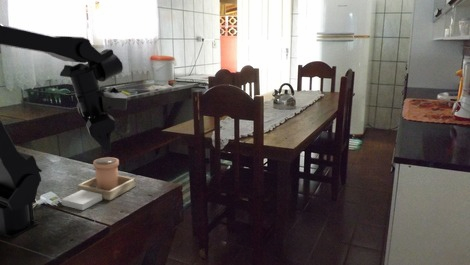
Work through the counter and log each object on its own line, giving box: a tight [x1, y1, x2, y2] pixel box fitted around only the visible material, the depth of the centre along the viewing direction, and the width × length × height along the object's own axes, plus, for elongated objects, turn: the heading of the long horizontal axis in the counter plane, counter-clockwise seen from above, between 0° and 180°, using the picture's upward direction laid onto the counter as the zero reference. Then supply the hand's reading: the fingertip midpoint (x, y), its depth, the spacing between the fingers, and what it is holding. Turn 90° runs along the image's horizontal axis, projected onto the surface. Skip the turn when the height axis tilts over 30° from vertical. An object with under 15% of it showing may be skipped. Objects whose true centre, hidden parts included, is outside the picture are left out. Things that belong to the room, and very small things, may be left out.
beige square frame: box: [77, 174, 137, 201], centre depth 99 cm, size 10×10×2 cm
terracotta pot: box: [92, 156, 120, 191], centre depth 99 cm, size 6×6×8 cm
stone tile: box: [61, 190, 103, 211], centre depth 91 cm, size 6×6×2 cm
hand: (104, 144), depth 97 cm, fingers open, 9 cm apart
